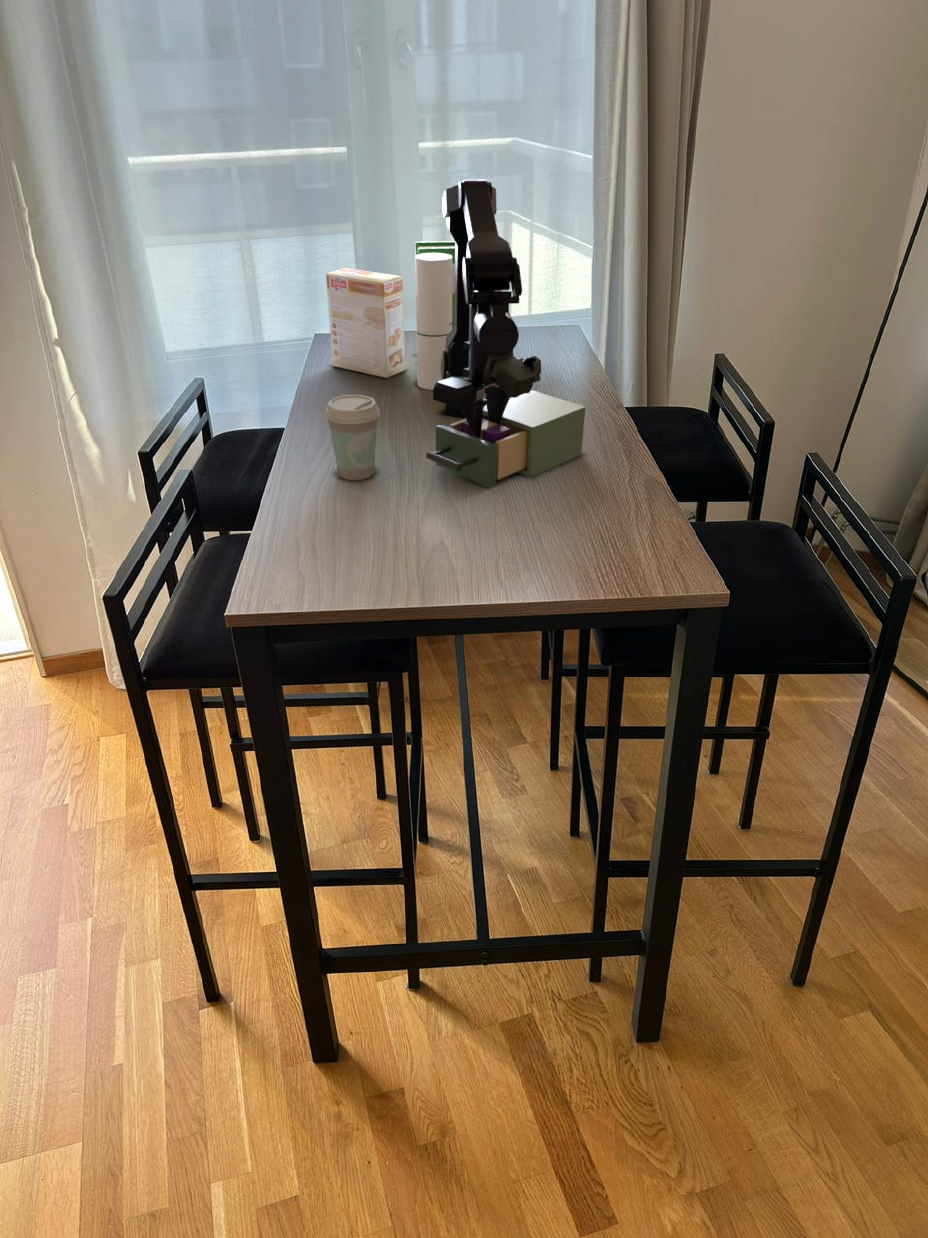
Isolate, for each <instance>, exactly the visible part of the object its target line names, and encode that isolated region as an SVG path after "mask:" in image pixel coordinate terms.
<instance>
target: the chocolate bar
mask: <svg viewBox="0 0 928 1238" xmlns="http://www.w3.org/2000/svg"><path fill="white" fill-rule="evenodd" d="M461 432H463V433H466V434H468V435H471V436H474V435H473V433H472V431H471V429H470V426H469V424H468V422H467V420H466V421H464V422H462V423H461ZM508 436H510V429H509V428H506V427H504V426H501V425H498V424H496V423H493V422H490V421H487V420H484V419H482V429H481V435H480V437H479V439H482V440H484V441H487V442H490V443H492V444H495V445H496V441H498V440H501V439H503V438H506V437H508ZM474 437H475V436H474ZM476 438H477V437H476Z"/></svg>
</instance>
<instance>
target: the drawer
mask: <svg viewBox="0 0 928 1238" xmlns="http://www.w3.org/2000/svg"><path fill="white" fill-rule="evenodd" d="M482 419H484V420H487V421H489V419H488V416H485V415H483V416H482ZM464 421H466V418H464V419H461V420H458V421H455V422H453V423H450V424H449V426H446V425H444V424H438V425H435V451H430V450H429V451H427V452H426V454H425V458H426V459H428V460H429V461H432V462H434V463H435V466H438V467H440V468H443V469H445V470H447V471H450V472H451V473H454V474H457V475H459V476H461V477H464V478H466V479H469V480H471V481H473V482H476V483H479V484H480V485H483V486H486V487H488V488H492V487H495V486H496V482H497V480H502V479H503V478H506V477H507V476H508V477H509V476H510V475H512V474H515V473H518V472H517V471H519V470H522V469H524V468H526V467H527V462H528V443H529V431H528V430H525V429H522V428H520V427H517V426H514V425H511V424H508V423H505V422H502V421H500V424H499V425H501V426H504V427H506V428H509V429H510V436H508V437H506V438H503V439H501V440H498V441H496V445H495V444H492V443H490V442H487V441H484V440H482V439H479V438H476V437H474V436H471V435H468V434H466V433H463V432H461V423H462V422H464Z"/></svg>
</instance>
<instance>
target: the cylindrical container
mask: <svg viewBox="0 0 928 1238" xmlns="http://www.w3.org/2000/svg"><path fill="white" fill-rule="evenodd" d="M414 257H415V258H414V263H415V268H414V269H415V271H414V272H415V315H416V319H415V320H416V321H415V322H416V323H415V324H416V369H417V370H416V371H417V372H416V374H417V377H416V378H417V379H416V380H417V386H418V387H419V388H421V389H423V390H431V391H433V385H434V384H435V383H436V382H438V381H441V380H442V379H441V358H442V352H443V351H445V350H446V338H447V336H448V335H449V333H450V331H451V330H452V256H451V255H449V254H444V253H423V254H418V255H416V256H415V255H414ZM447 373H448V372H447Z"/></svg>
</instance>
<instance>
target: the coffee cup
mask: <svg viewBox="0 0 928 1238" xmlns="http://www.w3.org/2000/svg"><path fill="white" fill-rule="evenodd" d="M380 415H381V413H380V409H379V407H378V405H377V402H376V399H374V398H373V397H371V396H367V395H361V394H345V395H340V396H336V397H334V398H332V399H330V400H329V401H328V403H327V407H326V410H325V418H326V419H327V422H328V427H329V431H330V437H331V442H332V448H333V452H334V458H335V463H336V468H337V473H338V475H339V477H341V478H342V479H344V480H347V481H361V480H366V479H369V478H371V477H372V476H373V475H374V474H375V460H376V448H377V435H378V434H377V433H378V419H379V416H380Z"/></svg>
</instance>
